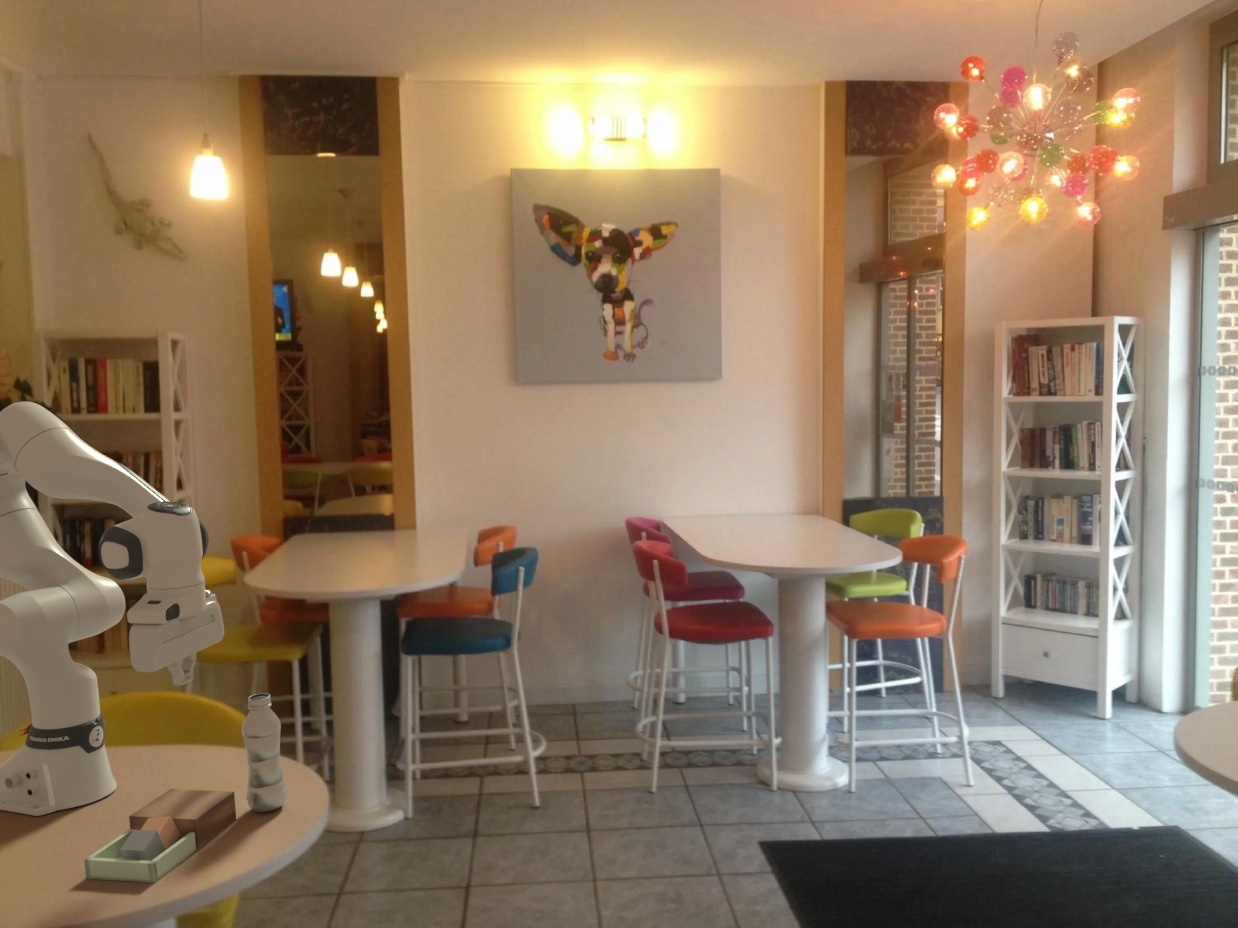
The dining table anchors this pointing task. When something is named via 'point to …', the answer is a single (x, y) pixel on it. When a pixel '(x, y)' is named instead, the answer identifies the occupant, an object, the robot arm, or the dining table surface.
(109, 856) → the tray
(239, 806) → the dining table surface
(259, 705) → the plastic bottle
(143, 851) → the matte grey cube
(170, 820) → the peach colored cube
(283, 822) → the dining table surface
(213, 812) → the brown wooden block
